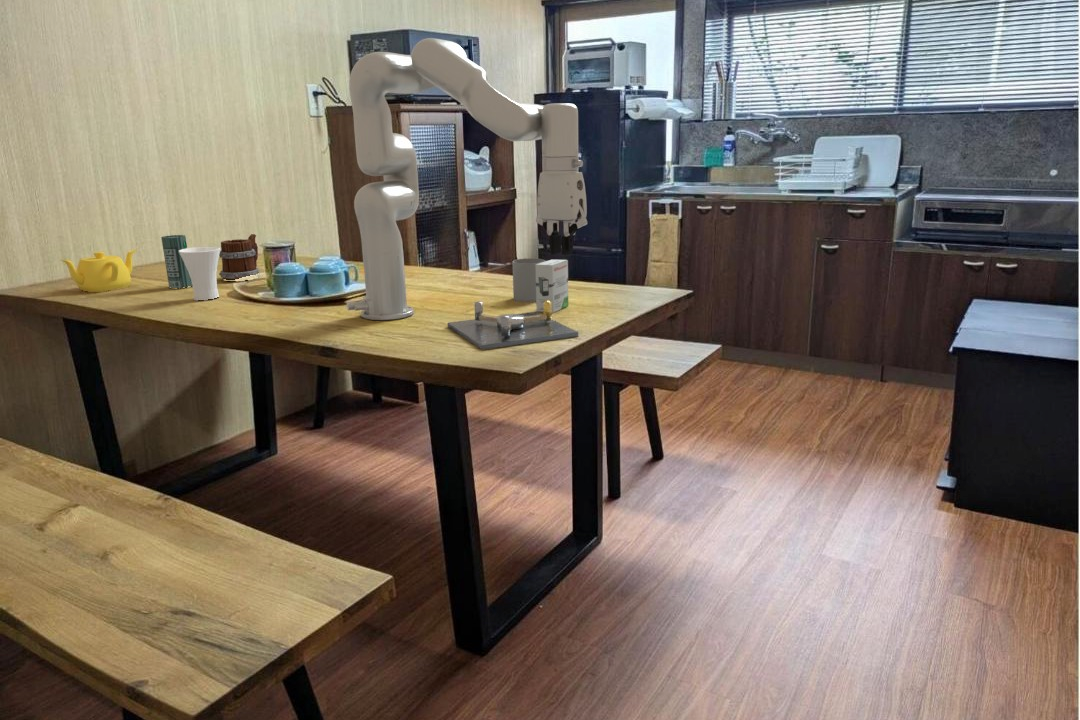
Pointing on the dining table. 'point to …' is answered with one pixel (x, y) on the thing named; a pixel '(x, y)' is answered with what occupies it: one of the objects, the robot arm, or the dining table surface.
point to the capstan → (512, 318)
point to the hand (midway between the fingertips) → (561, 253)
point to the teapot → (102, 272)
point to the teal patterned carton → (175, 261)
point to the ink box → (552, 284)
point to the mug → (239, 258)
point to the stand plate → (511, 332)
